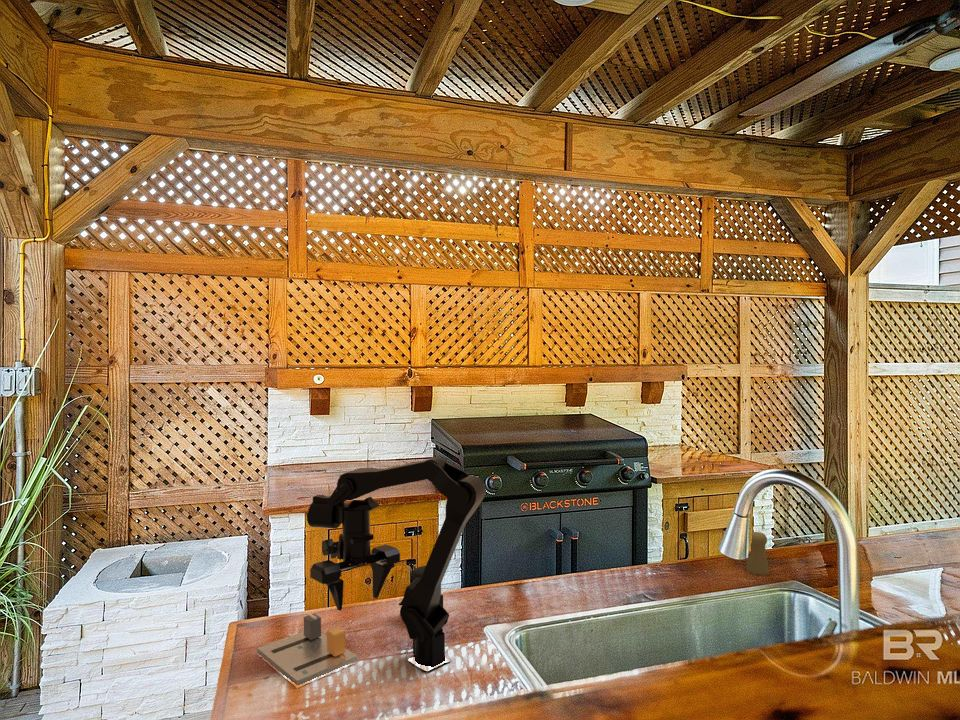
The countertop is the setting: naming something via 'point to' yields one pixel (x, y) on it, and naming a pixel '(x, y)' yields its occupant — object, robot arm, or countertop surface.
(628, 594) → the countertop surface
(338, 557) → the robot arm
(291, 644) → the console
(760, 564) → the brown tall tapered piece
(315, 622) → the charcoal fader
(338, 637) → the orange fader
